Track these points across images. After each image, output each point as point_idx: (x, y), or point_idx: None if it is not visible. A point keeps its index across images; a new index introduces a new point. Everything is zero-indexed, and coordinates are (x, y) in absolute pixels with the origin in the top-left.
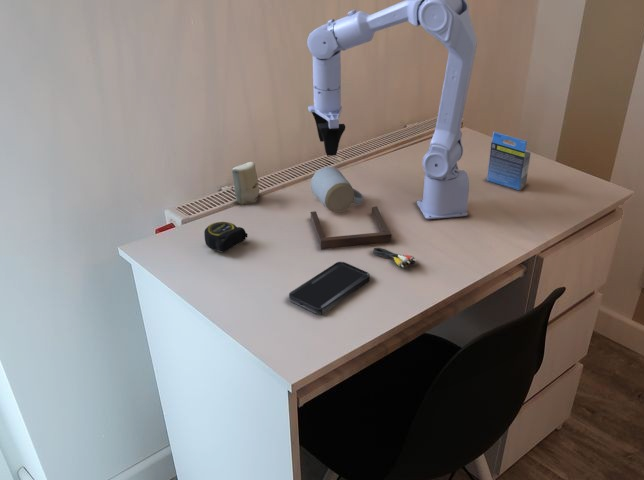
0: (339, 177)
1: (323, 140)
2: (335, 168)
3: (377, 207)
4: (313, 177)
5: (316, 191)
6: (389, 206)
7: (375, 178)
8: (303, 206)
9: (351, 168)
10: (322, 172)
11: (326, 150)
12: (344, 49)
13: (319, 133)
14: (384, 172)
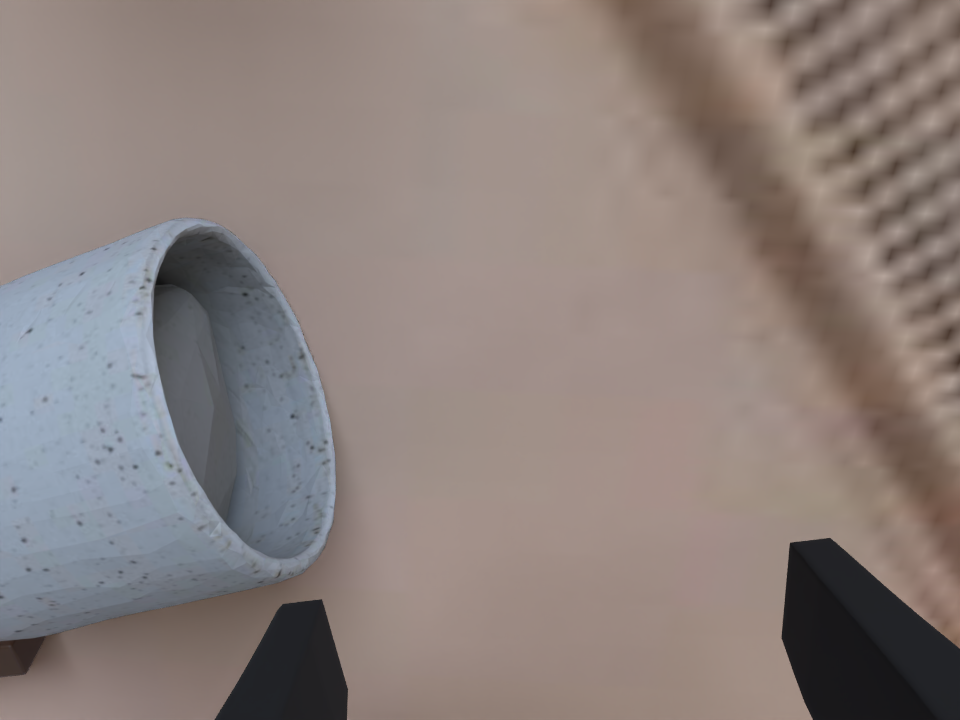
0: None
1: (794, 586)
2: (228, 580)
3: (1, 676)
4: (107, 312)
5: (9, 289)
6: (191, 688)
7: (626, 643)
8: (100, 89)
9: (832, 514)
10: (74, 455)
11: (246, 670)
12: None
13: (851, 631)
14: (710, 694)
